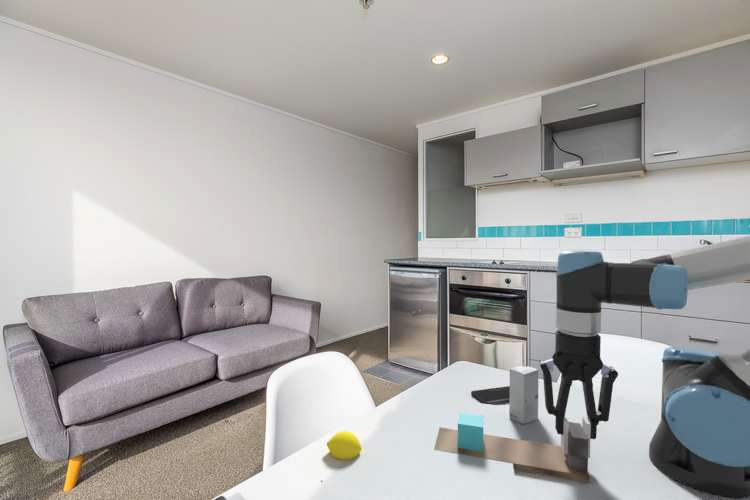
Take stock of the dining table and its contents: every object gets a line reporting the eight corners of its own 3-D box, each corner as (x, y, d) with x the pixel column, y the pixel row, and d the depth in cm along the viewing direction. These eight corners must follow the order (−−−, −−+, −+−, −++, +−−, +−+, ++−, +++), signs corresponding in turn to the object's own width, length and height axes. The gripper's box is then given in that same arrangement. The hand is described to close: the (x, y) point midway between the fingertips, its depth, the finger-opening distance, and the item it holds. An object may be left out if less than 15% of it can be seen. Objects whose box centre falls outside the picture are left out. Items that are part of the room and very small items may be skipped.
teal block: (483, 438, 77) (483, 415, 77) (483, 452, 73) (483, 427, 72) (459, 435, 79) (459, 412, 79) (457, 447, 74) (457, 423, 74)
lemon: (360, 453, 75) (364, 428, 75) (358, 470, 69) (362, 443, 69) (327, 448, 75) (330, 423, 75) (322, 465, 70) (326, 437, 69)
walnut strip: (577, 454, 74) (578, 419, 74) (589, 483, 65) (590, 443, 65) (439, 432, 82) (439, 401, 82) (434, 455, 73) (434, 420, 73)
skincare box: (524, 425, 86) (525, 374, 85) (507, 417, 90) (508, 368, 89) (539, 418, 89) (540, 369, 89) (523, 410, 93) (523, 364, 93)
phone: (532, 396, 100) (485, 403, 95) (532, 400, 100) (485, 407, 95) (513, 385, 107) (469, 390, 103) (513, 389, 107) (469, 394, 103)
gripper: (619, 330, 70) (616, 448, 71) (529, 323, 75) (527, 435, 76) (634, 340, 63) (630, 471, 64) (534, 332, 68) (532, 455, 69)
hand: (575, 451), depth 70 cm, fingers closed on walnut strip, 3 cm apart
